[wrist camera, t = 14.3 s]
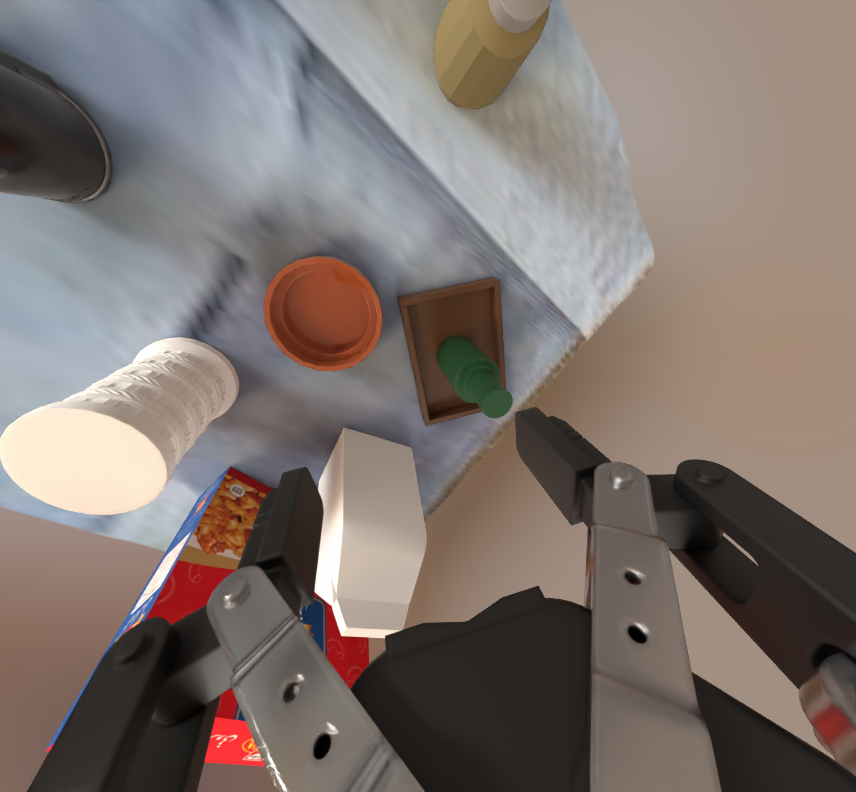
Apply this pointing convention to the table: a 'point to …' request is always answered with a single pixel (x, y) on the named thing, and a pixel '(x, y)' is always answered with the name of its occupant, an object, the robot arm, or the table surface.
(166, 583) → the pasta box
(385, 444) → the milk
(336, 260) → the bowl
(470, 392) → the bottle
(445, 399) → the tray
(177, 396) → the decorative container
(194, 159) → the table surface
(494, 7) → the squeeze bottle
